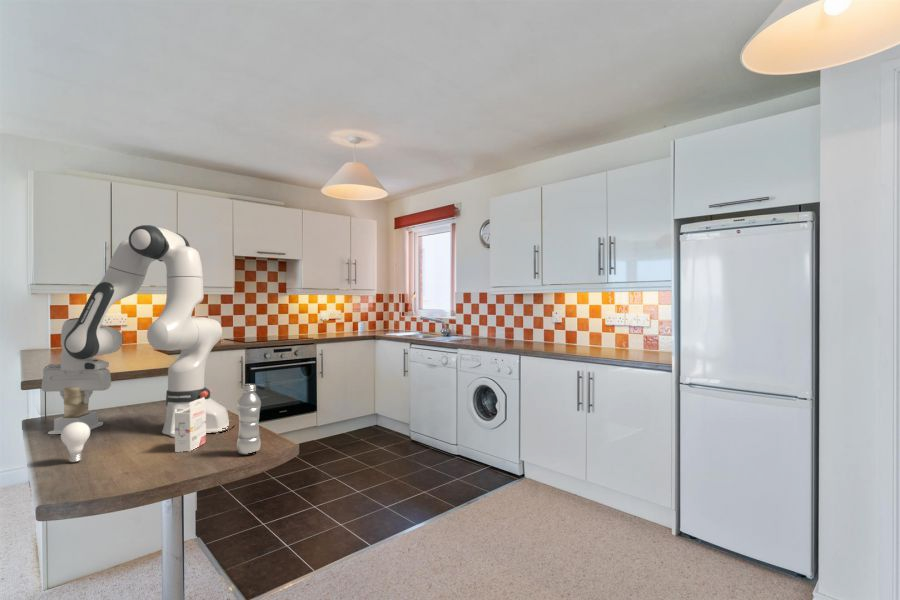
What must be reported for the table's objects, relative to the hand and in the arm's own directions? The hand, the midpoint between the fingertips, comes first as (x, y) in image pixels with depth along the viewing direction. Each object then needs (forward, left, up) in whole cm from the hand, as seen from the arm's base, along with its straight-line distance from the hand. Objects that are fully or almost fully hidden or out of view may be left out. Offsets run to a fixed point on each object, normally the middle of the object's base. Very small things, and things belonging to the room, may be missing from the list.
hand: (76, 403), depth 159 cm
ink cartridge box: (-48, +28, -9) cm, 57 cm away
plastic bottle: (-67, +36, -9) cm, 77 cm away
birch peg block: (0, 0, -4) cm, 4 cm away
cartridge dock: (0, 0, -9) cm, 9 cm away
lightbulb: (-22, +37, -9) cm, 44 cm away
